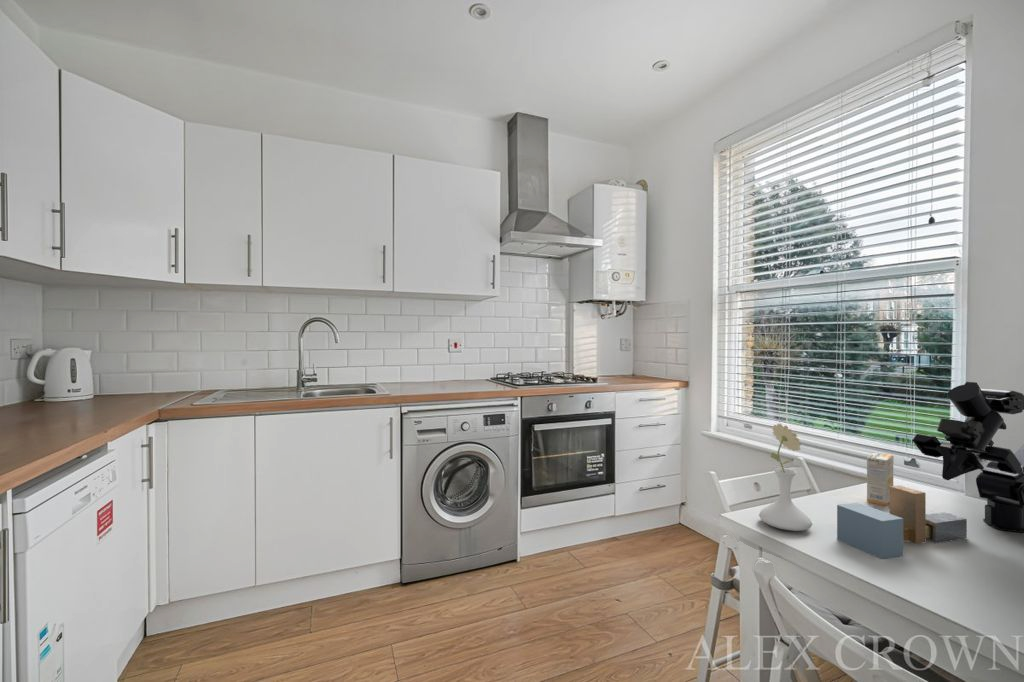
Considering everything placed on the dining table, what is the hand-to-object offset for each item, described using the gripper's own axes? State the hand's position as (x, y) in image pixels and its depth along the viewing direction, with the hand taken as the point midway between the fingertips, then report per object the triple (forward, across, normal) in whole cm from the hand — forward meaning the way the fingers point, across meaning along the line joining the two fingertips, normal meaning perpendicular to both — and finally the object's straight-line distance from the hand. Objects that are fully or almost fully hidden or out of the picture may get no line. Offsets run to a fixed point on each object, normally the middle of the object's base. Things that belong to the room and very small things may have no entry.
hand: (944, 478), depth 108 cm
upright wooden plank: (+15, 0, +3) cm, 15 cm away
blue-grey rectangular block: (+26, 0, -7) cm, 27 cm away
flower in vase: (+32, -15, -12) cm, 37 cm away
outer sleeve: (+11, 0, +9) cm, 14 cm away
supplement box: (+2, -22, +17) cm, 28 cm away
